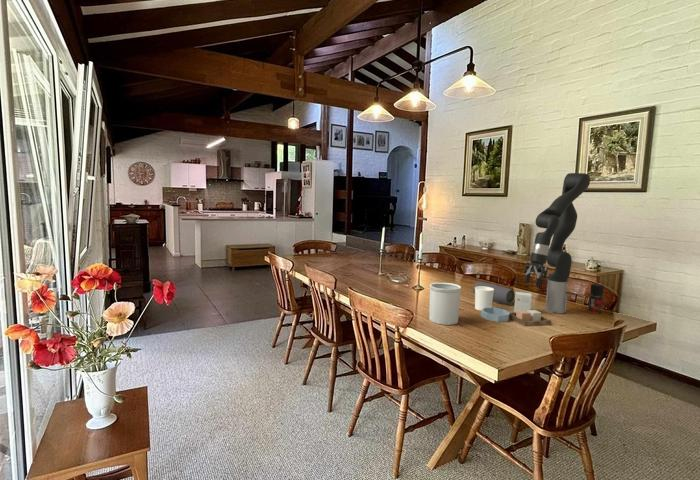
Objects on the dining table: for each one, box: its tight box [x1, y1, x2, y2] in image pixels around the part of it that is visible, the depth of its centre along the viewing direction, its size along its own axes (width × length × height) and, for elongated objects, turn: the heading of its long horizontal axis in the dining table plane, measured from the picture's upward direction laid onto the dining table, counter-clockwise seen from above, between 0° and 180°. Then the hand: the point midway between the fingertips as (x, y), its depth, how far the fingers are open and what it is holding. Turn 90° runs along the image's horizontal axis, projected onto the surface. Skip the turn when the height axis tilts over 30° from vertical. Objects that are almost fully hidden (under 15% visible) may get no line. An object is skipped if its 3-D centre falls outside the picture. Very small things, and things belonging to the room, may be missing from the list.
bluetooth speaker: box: [472, 281, 516, 304], centre depth 223 cm, size 23×9×10 cm, turn 34°
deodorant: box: [587, 283, 605, 314], centre depth 206 cm, size 6×6×15 cm
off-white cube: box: [527, 309, 542, 321], centre depth 187 cm, size 4×4×4 cm
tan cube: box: [516, 310, 531, 322], centre depth 185 cm, size 4×4×4 cm
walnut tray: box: [509, 311, 552, 327], centre depth 186 cm, size 14×14×3 cm
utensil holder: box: [428, 282, 462, 326], centre depth 183 cm, size 15×15×18 cm
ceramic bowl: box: [480, 306, 511, 323], centre depth 190 cm, size 13×13×4 cm
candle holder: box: [474, 286, 494, 312], centre depth 204 cm, size 10×10×12 cm
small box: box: [513, 291, 533, 312], centre depth 201 cm, size 8×6×10 cm
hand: (532, 284), depth 191 cm, fingers open, 8 cm apart
